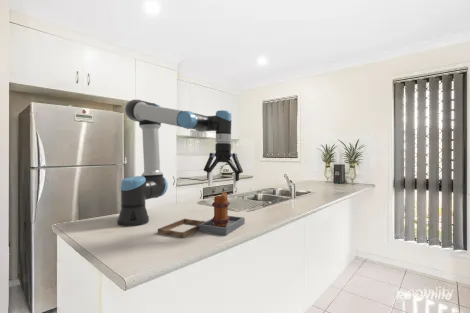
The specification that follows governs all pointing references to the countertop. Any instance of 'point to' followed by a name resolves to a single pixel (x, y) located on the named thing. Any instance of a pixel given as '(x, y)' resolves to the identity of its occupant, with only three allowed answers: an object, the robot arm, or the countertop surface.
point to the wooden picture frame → (167, 231)
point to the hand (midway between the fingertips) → (222, 186)
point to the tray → (232, 225)
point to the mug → (221, 210)
